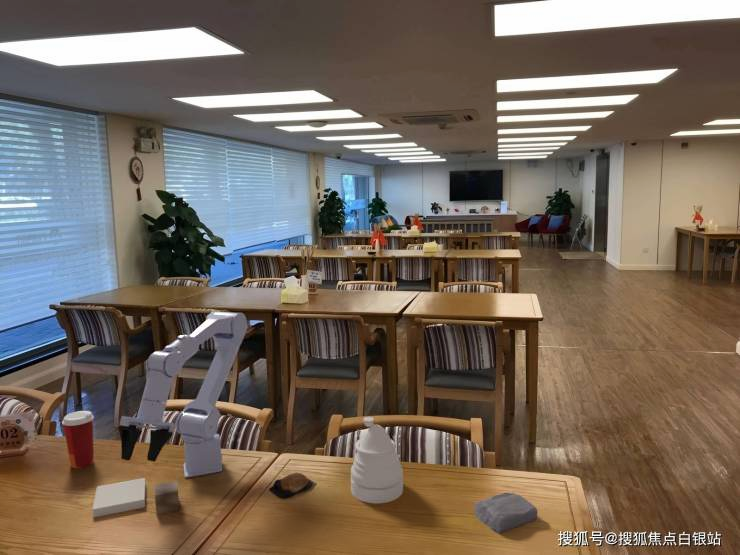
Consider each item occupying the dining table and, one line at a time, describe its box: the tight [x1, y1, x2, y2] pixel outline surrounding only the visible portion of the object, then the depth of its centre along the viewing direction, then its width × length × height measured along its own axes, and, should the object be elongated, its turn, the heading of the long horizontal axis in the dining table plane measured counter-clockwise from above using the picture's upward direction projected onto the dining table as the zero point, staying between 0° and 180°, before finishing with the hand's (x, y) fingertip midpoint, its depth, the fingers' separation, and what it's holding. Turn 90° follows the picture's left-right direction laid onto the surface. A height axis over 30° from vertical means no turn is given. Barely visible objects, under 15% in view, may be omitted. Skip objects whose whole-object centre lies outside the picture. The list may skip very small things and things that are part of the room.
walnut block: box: [154, 480, 180, 516], centre depth 131 cm, size 5×5×5 cm
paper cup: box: [61, 410, 95, 469], centre depth 152 cm, size 8×8×14 cm
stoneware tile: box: [92, 477, 146, 518], centre depth 134 cm, size 11×11×2 cm
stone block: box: [474, 492, 538, 534], centre depth 125 cm, size 12×5×10 cm
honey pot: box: [350, 416, 404, 504], centre depth 136 cm, size 13×13×18 cm
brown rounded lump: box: [267, 471, 317, 500], centre depth 139 cm, size 11×8×4 cm
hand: (138, 460), depth 129 cm, fingers open, 7 cm apart
